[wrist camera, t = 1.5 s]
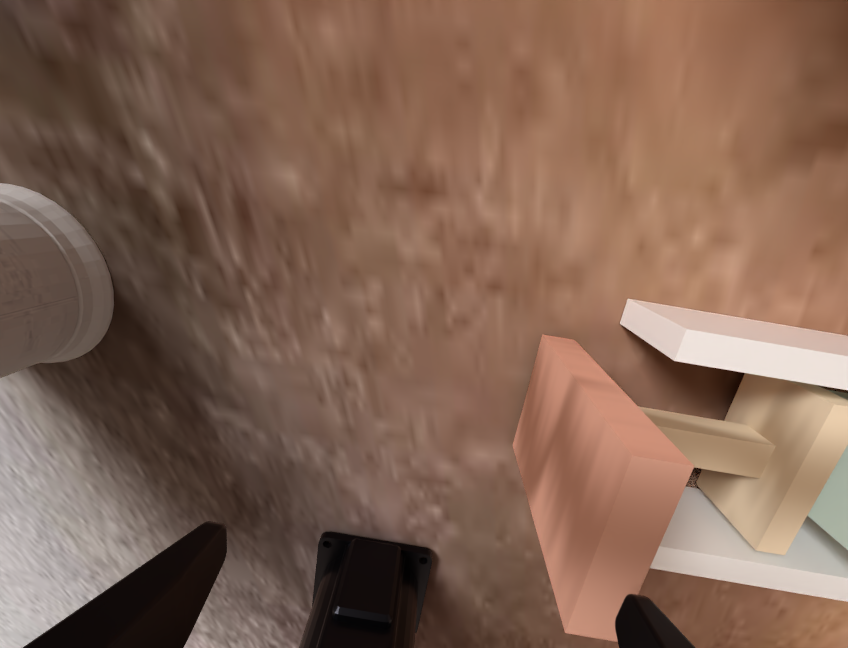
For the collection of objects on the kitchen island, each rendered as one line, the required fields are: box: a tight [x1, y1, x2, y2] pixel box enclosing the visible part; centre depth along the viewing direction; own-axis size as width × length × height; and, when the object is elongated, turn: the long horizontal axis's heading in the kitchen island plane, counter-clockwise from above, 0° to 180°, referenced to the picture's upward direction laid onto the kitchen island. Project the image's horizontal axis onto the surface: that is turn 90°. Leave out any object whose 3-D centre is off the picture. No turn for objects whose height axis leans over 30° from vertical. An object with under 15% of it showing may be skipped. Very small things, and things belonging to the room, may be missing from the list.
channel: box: [620, 299, 848, 602], centre depth 17 cm, size 10×17×4 cm, turn 81°
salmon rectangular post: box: [513, 335, 848, 642], centre depth 14 cm, size 7×11×9 cm, turn 81°
